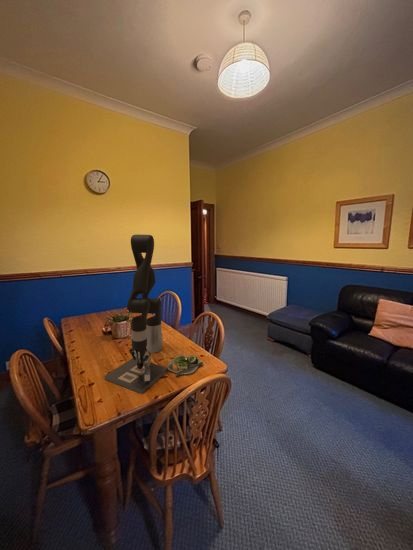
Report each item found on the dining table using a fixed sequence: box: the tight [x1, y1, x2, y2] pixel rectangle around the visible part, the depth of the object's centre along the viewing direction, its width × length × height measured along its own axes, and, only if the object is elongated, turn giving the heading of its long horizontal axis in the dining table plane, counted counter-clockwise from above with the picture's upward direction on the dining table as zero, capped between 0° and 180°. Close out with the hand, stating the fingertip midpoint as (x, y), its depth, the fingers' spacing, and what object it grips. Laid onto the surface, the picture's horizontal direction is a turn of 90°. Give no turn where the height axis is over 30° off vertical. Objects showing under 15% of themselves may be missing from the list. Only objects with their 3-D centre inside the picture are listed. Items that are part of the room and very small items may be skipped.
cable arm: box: [144, 352, 152, 381], centre depth 116 cm, size 21×4×3 cm, turn 14°
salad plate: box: [166, 354, 204, 377], centre depth 125 cm, size 19×18×5 cm
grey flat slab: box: [104, 357, 169, 395], centre depth 118 cm, size 20×24×4 cm
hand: (140, 368), depth 118 cm, fingers closed
